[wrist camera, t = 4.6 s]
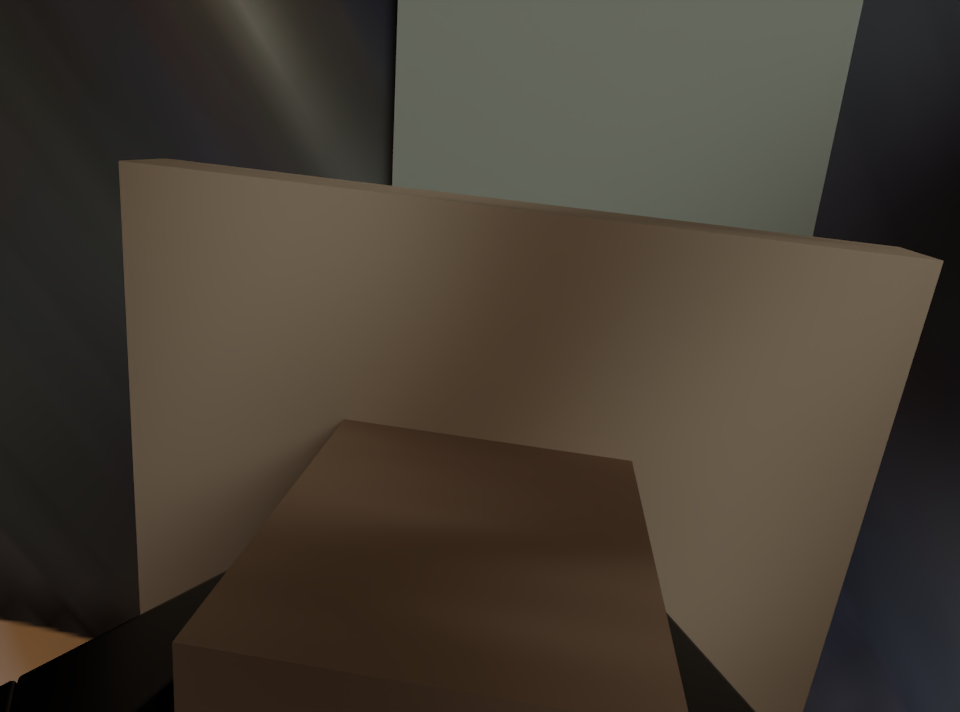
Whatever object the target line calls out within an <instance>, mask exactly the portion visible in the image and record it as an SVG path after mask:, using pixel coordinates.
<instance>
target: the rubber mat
mask: <svg viewBox="0 0 960 712" xmlns="http://www.w3.org/2000/svg"><path fill="white" fill-rule="evenodd" d="M862 4H863V0H398V14H397V46H396V78H395V110H394V142H393V174H392V186H398V187H406V188H414V189H423V190H431V191H439V192H448V193H456V194H464V195H473V196H481V197H489V198H497V199H506V200H514V201H522V202H531V203H539V204H547V205H555V206H564V207H572V208H580V209H589V210H597V211H605V212H614V213H622V214H630V215H638V216H647V217H655V218H663V219H672V220H680V221H688V222H696V223H705V224H713V225H721V226H730V227H738V228H746V229H755V230H763V231H771V232H779V233H788V234H796V235H804V236H813V232H814V228H815V223H816V218H817V214H818V209H819V204H820V200H821V195H822V190H823V186H824V181H825V177H826V172H827V167H828V163H829V158H830V153H831V149H832V144H833V139H834V135H835V130H836V125H837V121H838V116H839V111H840V107H841V102H842V97H843V93H844V88H845V83H846V79H847V74H848V69H849V65H850V60H851V55H852V51H853V46H854V41H855V37H856V32H857V27H858V23H859V18H860V13H861V9H862Z"/></svg>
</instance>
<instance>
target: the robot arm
mask: <svg viewBox="0 0 960 712" xmlns="http://www.w3.org/2000/svg"><path fill="white" fill-rule="evenodd" d="M226 572H227V570H226V571H224V572H222V573H220V574H218V575H216V576H214V577H213V578H211V579H209V580H207V581H205V582H203V583H201V584H199V585H197V586H195V587H193V588H191V589H189V590H187V591H185V592H183V593H181V594H179V595H177V596H176V597H174V598H172V599H170V600H168V601H166V602H164V603H162V604H160V605H158V606H156V607H154V608H152V609H150V610H148V611H146V612H144V613H142V614H140V615H139V616H137V617H135V618H133V619H131V620H129V621H127V622H125V623H123V624H121V625H119V626H117V627H115V628H113V629H111V630H109V631H107V632H105V633H103V634H102V635H100V636H98V637H96V638H94V639H92V640H90V641H88V642H86V643H84V644H82V645H80V646H78V647H76V648H74V649H72V650H70V651H68V652H66V653H64V654H63V655H61V656H59V657H57V658H55V659H53V660H51V661H49V662H47V663H45V664H43V665H41V666H39V667H37V668H35V669H34V670H31V671H29V672H28V673H26V674H24V675H22V676H20V677H19V679H18V682H17V683H16V682H15V681H10V682H8V683H6V684H4V685H2V686H0V712H174V684H173V652H172V642H173V641H174V639H175V638H176V637H177V635H178V634H179V633H180V631H181V630H182V629H183V628H184V626H185V625H186V624H187V622H188V621H189V620H190V618H191V617H192V616H193V615H194V613H195V612H196V611H197V609H198V608H199V607H200V606H201V604H202V603H203V602H204V600H205V599H206V598H207V596H208V595H209V594H210V593H211V591H212V590H213V589H214V587H215V586H216V585H217V583H218V582H219V581H220V580H221V578H222V577H223V576H224V574H225V573H226ZM666 614H667V619H668V623H669V628H670V632H671V637H672V641H673V645H674V650H675V654H676V659H677V663H678V668H679V672H680V677H681V681H682V685H683V690H684V694H685V699H686V703H687V708H688V712H756V711H755V710H754V709H753V708H752V707H751V706H750V705H749V704H748V703H747V701H746V700H745V699H744V698H743V697H742V696H741V695H740V694H739V692H738V691H737V690H736V689H735V688H734V687H733V686H732V685H731V684H730V682H729V681H728V680H727V679H726V678H725V677H724V676H723V675H722V674H721V672H720V671H719V670H718V669H717V668H716V667H715V666H714V665H713V663H712V662H711V661H710V660H709V659H708V658H707V657H706V656H705V655H704V653H703V652H702V651H701V650H700V649H699V648H698V647H697V646H696V645H695V643H694V642H693V641H692V640H691V639H690V638H689V637H688V636H687V634H686V633H685V632H684V631H683V630H682V629H681V628H680V627H679V626H678V624H677V623H676V622H675V621H674V620H673V619H672V618H671V617H670V616H669V614H668V613H667V612H666Z"/></svg>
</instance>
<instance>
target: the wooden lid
mask: <svg viewBox="0 0 960 712" xmlns="http://www.w3.org/2000/svg"><path fill="white" fill-rule="evenodd" d="M119 176H120V197H121V218H122V240H123V261H124V282H125V303H126V324H127V345H128V366H129V387H130V408H131V429H132V450H133V472H134V493H135V514H136V535H137V556H138V577H139V598H140V614H142V613H144V612H146V611H148V610H150V609H152V608H154V607H156V606H158V605H160V604H162V603H164V602H166V601H168V600H170V599H172V598H174V597H176V596H177V595H179V594H181V593H183V592H185V591H187V590H189V589H191V588H193V587H195V586H197V585H199V584H201V583H203V582H205V581H207V580H209V579H211V578H213V577H214V576H216V575H218V574H220V573H222V572H224V571H226V570H227V572H226V573H225V574H224V576H223V577H222V578H221V580H220V581H219V582H218V583H217V585H216V586H215V587H214V589H213V590H212V591H211V593H210V594H209V595H208V596H207V598H206V599H205V600H204V602H203V603H202V604H201V606H200V607H199V608H198V609H197V611H196V612H195V613H194V615H193V616H192V617H191V618H190V620H189V621H188V622H187V624H186V625H185V626H184V628H183V629H182V630H181V631H180V633H179V634H178V635H177V637H176V638H175V639H174V641H173V642H172V652H173V684H174V712H688V708H687V703H686V699H685V694H684V690H683V685H682V681H681V677H680V672H679V668H678V663H677V659H676V654H675V650H674V645H673V641H672V637H671V632H670V628H669V623H668V619H667V614H666V612H667V613H668V614H669V616H670V617H671V618H672V619H673V620H674V621H675V622H676V623H677V624H678V626H679V627H680V628H681V629H682V630H683V631H684V632H685V633H686V634H687V636H688V637H689V638H690V639H691V640H692V641H693V642H694V643H695V645H696V646H697V647H698V648H699V649H700V650H701V651H702V652H703V653H704V655H705V656H706V657H707V658H708V659H709V660H710V661H711V662H712V663H713V665H714V666H715V667H716V668H717V669H718V670H719V671H720V672H721V674H722V675H723V676H724V677H725V678H726V679H727V680H728V681H729V682H730V684H731V685H732V686H733V687H734V688H735V689H736V690H737V691H738V692H739V694H740V695H741V696H742V697H743V698H744V699H745V700H746V701H747V703H748V704H749V705H750V706H751V707H752V708H753V709H754V710H755V711H756V712H803V709H804V706H805V703H806V700H807V697H808V693H809V690H810V687H811V684H812V681H813V678H814V674H815V671H816V668H817V665H818V662H819V658H820V655H821V652H822V649H823V646H824V642H825V639H826V636H827V633H828V630H829V626H830V623H831V620H832V617H833V614H834V610H835V607H836V604H837V601H838V598H839V594H840V591H841V588H842V585H843V582H844V578H845V575H846V572H847V569H848V566H849V562H850V559H851V556H852V553H853V550H854V546H855V543H856V540H857V537H858V534H859V530H860V527H861V524H862V521H863V518H864V514H865V511H866V508H867V505H868V502H869V498H870V495H871V492H872V489H873V486H874V482H875V479H876V476H877V473H878V470H879V466H880V463H881V460H882V457H883V454H884V450H885V447H886V444H887V441H888V438H889V434H890V431H891V428H892V425H893V422H894V419H895V415H896V412H897V409H898V406H899V403H900V399H901V396H902V393H903V390H904V387H905V383H906V380H907V377H908V374H909V371H910V367H911V364H912V361H913V358H914V355H915V351H916V348H917V345H918V342H919V339H920V335H921V332H922V329H923V326H924V323H925V319H926V316H927V313H928V310H929V307H930V303H931V300H932V297H933V294H934V291H935V287H936V284H937V281H938V278H939V275H940V271H941V268H942V265H943V262H944V261H942V260H939V259H936V258H933V257H930V256H926V255H923V254H920V253H917V252H914V251H911V250H907V249H904V248H901V247H896V246H887V245H879V244H871V243H862V242H854V241H846V240H837V239H829V238H821V237H813V236H804V235H796V234H788V233H779V232H771V231H763V230H755V229H746V228H738V227H730V226H721V225H713V224H705V223H696V222H688V221H680V220H672V219H663V218H655V217H647V216H638V215H630V214H622V213H614V212H605V211H597V210H589V209H580V208H572V207H564V206H555V205H547V204H539V203H531V202H522V201H514V200H506V199H497V198H489V197H481V196H473V195H464V194H456V193H448V192H439V191H431V190H423V189H414V188H406V187H398V186H390V185H381V184H373V183H365V182H356V181H348V180H340V179H332V178H323V177H315V176H307V175H298V174H290V173H282V172H273V171H265V170H257V169H249V168H240V167H232V166H224V165H215V164H207V163H199V162H191V161H182V160H174V159H146V160H125V161H119Z"/></svg>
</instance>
